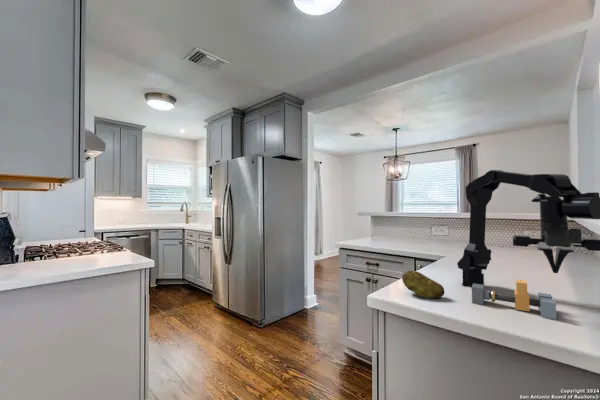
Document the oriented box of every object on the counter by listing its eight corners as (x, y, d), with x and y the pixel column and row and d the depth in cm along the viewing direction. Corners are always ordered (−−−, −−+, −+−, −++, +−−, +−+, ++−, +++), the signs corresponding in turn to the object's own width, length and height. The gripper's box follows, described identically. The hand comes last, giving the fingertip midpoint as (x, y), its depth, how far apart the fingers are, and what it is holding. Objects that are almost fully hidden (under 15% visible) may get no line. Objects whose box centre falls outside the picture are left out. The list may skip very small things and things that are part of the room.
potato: (435, 303, 87) (435, 278, 87) (398, 293, 97) (398, 271, 97) (447, 298, 92) (446, 274, 92) (411, 289, 102) (410, 267, 102)
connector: (472, 302, 87) (471, 287, 87) (473, 298, 91) (473, 283, 91) (489, 305, 85) (488, 289, 85) (489, 301, 89) (489, 285, 89)
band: (491, 302, 85) (491, 291, 85) (491, 299, 88) (491, 289, 88) (494, 303, 84) (494, 292, 85) (494, 300, 87) (494, 289, 87)
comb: (541, 317, 76) (541, 300, 76) (537, 307, 83) (537, 292, 83) (556, 319, 74) (555, 303, 74) (551, 309, 81) (550, 294, 82)
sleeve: (515, 309, 81) (514, 282, 81) (514, 304, 85) (514, 279, 85) (529, 311, 79) (528, 284, 79) (528, 306, 83) (527, 280, 83)
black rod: (481, 298, 87) (481, 292, 87) (481, 296, 89) (481, 290, 89) (539, 307, 79) (539, 300, 79) (539, 305, 80) (538, 298, 80)
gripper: (513, 218, 77) (514, 274, 77) (611, 219, 66) (613, 284, 66) (511, 217, 86) (513, 266, 86) (597, 218, 75) (599, 275, 75)
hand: (555, 272), depth 78 cm, fingers closed
